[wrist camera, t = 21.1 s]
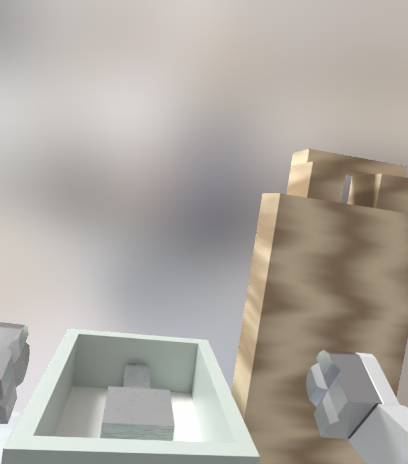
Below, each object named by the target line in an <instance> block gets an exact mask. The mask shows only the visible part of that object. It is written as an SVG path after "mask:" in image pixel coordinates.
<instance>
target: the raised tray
mask: <svg viewBox="0 0 408 464" xmlns="http://www.w3.org/2000/svg"><path fill="white" fill-rule="evenodd" d="M126 364H133V365H147V366H150V387H151V389H161V390H170V395H171V402H172V410H173V417H174V424H175V428H174V434H173V441H162V440H135V439H108V438H100V433H101V426H102V419H103V414H104V408H105V402H106V397H107V391H108V386H112V387H123V380H124V372H125V365H126ZM259 459H260V456H259V454H258V452H257V449H256V447H255V445H254V443H253V440H252V438H251V436H250V434H249V432H248V429H247V427H246V425H245V423H244V420H243V418H242V416H241V414H240V411H239V409H238V407H237V405H236V403H235V400H234V398H233V396H232V394H231V392H230V389H229V387H228V385H227V383H226V381H225V378H224V376H223V374H222V372H221V369H220V367H219V365H218V363H217V360H216V358H215V356H214V354H213V351H212V349H211V347H210V345H209V343H208V340H200V339H187V338H176V337H164V336H152V335H140V334H128V333H116V332H104V331H92V330H80V329H68V330H67V332H66V334H65V336H64V338H63V339H62V341H61V343H60V345H59V347H58V349H57V350H56V352H55V354H54V356H53V358H52V360H51V361H50V363H49V365H48V367H47V369H46V371H45V373H44V374H43V376H42V378H41V380H40V382H39V384H38V386H37V387H36V389H35V391H34V393H33V395H32V396H31V399H30V400H29V402H28V404H27V406H26V408H25V409H24V411H23V413H22V415H21V417H20V419H19V420H18V422H17V424H16V426H15V428H14V430H13V431H12V433H11V435H10V437H9V439H8V441H7V443H6V444H5V446H4V448H3V454H2V463H1V464H259Z"/></svg>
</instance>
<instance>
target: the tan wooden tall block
mask: <svg viewBox="0 0 408 464" xmlns="http://www.w3.org/2000/svg"><path fill="white" fill-rule="evenodd" d="M406 168H407V167H406V166H402V165H396V164H390V163H385V162H379V161H374V160H368V159H363V158H357V157H351V156H346V155H340V154H335V153H329V152H324V151H318V150H312V149H307V150H304V151H300V152H296V153H293V157H292V164H291V170H290V176H289V182H288V189H287V194H281V193H276V194H275V193H272V194H271V193H270V194H269V193H263V194H262V201H261V207H260V214H259V220H258V226H257V232H256V239H255V245H254V252H253V259H252V264H251V271H250V278H249V283H248V290H247V297H246V303H245V309H244V315H243V322H242V328H241V334H240V341H239V347H238V354H237V360H236V367H235V373H234V379H233V385H232V392H231V394H232V396H233V398H234V400H235V403H236V405H237V407H238V409H239V411H240V414H241V416H242V418H243V420H244V423H245V425H246V427H247V429H248V432H249V434H250V436H251V438H252V440H253V443H254V445H255V447H256V449H257V452H258V454H259V456H260V459H259V464H366V462H365V461H364V460H363V459H362V457H361V456H360V455H359V454H358V452H357V451H356V450H355V449H354V447H353V446H352V445H351V444H350V442H349V439H338V438H324V437H321V435H320V432H319V429H318V426H317V423H316V420H315V417H314V412H315V410H316V406H315V405H314V404H313V403H312V402H311V401H310V400H309V397H308V394H307V389H306V378H307V373H308V371H309V369H310V368H311V367H312V366H313V365H315V364H317V363H318V361H317V358H316V357H317V356H318V354H319V352H321V351H323V350H331V351H346V352H354V353H366V354H372V355H373V356H374V357H375V358H376V359H377V361H378V363H379V365H380V367H381V369H382V371H383V373H384V375H385V377H386V379H387V381H388V383H389V385H390V387H391V388H392V390H393V392H394V394H395V396H397V391H398V386H399V380H400V375H401V370H402V365H403V359H404V354H405V349H406V344H407V338H408V213H407V211H408V178H405V174H406ZM345 175H349V176H352V180H351V186H350V193H349V198H348V203H347V204H345V203H341V198H342V192H343V186H344V181H345Z"/></svg>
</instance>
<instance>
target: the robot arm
mask: <svg viewBox="0 0 408 464" xmlns="http://www.w3.org/2000/svg"><path fill="white" fill-rule="evenodd" d="M27 336H28V327H27V326H26V325H18V324H10V323H0V424H8V421H9V419H10V416H11V413H12V410H13V407H14V405H15V402H16V399H17V395H16V387H17V386H18V385H20V384H21V383H22V382H23V380H24V377H25V374H26V370H27V366H28V361H29V345H28V344H27V343H26V339H27ZM316 358H317V361H318V363H317V364H315V365H313V366H312V367H311V368H310V369H309V371H308V373H307V378H306V389H307V394H308V397H309V400H310V401H311V402H312V403H313V404H314V405H315V406H316V410H315V412H314V417H315V420H316V423H317V426H318V429H319V432H320V435H321V437H324V438H338V439H349V442H350V444H351V445H352V446H353V447H354V449H355V450H356V451H357V452H358V454H359V455H360V456H361V457H362V459H363V460H364V461H365V462H366V464H408V408H407V407H406V406H403V405H400V404H399V402H398V400H397V398H396V396H395V394H394V392H393V390H392V388H391V387H390V385H389V383H388V381H387V379H386V377H385V375H384V373H383V371H382V369H381V367H380V365H379V363H378V361H377V359H376V358H375V357H374V356H373V355H372V354H366V353H354V352H346V351H331V350H323V351H321V352H319V354H318V356H317V357H316Z"/></svg>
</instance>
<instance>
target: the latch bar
mask: <svg viewBox="0 0 408 464" xmlns="http://www.w3.org/2000/svg"><path fill="white" fill-rule="evenodd" d="M174 428H175V424H174V417H173V410H172V402H171V395H170V390H161V389H151V387H150V366H147V365H133V364H126V365H125V372H124V380H123V387H112V386H108V391H107V397H106V402H105V408H104V414H103V419H102V426H101V433H100V438H108V439H135V440H162V441H173V434H174Z"/></svg>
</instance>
